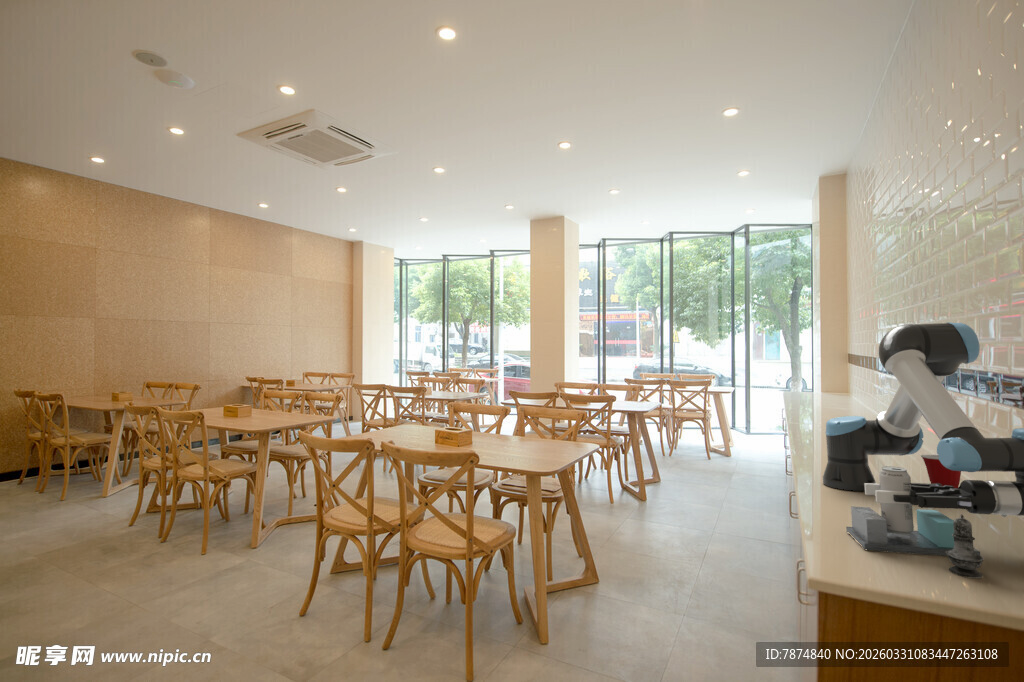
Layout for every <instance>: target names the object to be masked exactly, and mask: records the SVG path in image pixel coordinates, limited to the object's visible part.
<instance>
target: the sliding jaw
mask: <svg viewBox="0 0 1024 682" xmlns="http://www.w3.org/2000/svg"><path fill="white" fill-rule="evenodd" d="M954 520H955V519H952V518H950V517H948V516H947V515H944V513H941V512H940V511H938V510H935V509H934V510H933V509H919V508H918V509H916V521H917V522H916V523H917V531H918V532H919V533H920V534H922V535H923V536H924V537H926V538H927V539H929V540H930V541H932V542H933V543H934V544H936V545H937V546H939V547H946V548H954V537H953V536H952V534H954V525H953V521H954Z"/></svg>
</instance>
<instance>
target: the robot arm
mask: <svg viewBox="0 0 1024 682" xmlns="http://www.w3.org/2000/svg"><path fill="white" fill-rule="evenodd" d="M880 340H881V341H880V343H879V345H878V359H879V361H880V363H881V365H882V367H883V369H884V370H885V372H887V374H889V375H891V376H894V377H895V378H896V380H897V381H898V382H899V386H898V388H897V390H896V392H895V394H894V396H893V398H892V400H891V402H890V403H889V406H888V407H887V409H886V410H882V411H880V412H879V414H878V415H877V417H876V419H873V420H872V419H871V420H870V419H869V420H867V419H866V417H864V416H861V415H860V416H859V415H851V416H850V415H847V416H838V417H832V418H829V419H828V420H827V421H826V424H825V436H826V437H825V439H826V451H827V452H826V453H827V454H826V455H827V463H826V465H825V469H824V471H823V475H822V484H823V485H824V484H825V485H824V486H826V485H827V487H829V488H833V489H837V488H838V490H843V489H844V491H851V490H853V491H855V492H864V494H865V496H875V503H879V504H881V503H898V504H910V503H911V504H912V506H917V507H919V508H924V509H925V508H926V509H927V508H928V509H955V510H956V509H957V510H965V511H967V512H968V513H970V514H975V515H991V514H993V515H1000V516H1001V517H1002V518H1008V516H1023V517H1024V427H1019V428H1014V429H1012V432H1011V437H985V436H984V435H983V434H982V433H981V432H980V431H979V429H978V427H976V425H975V424H974V423H973V422H972V420H971V419H970V418H969V416H968V415H967V414H966V413H965V412H964V411H963V409H962V407H960V405H959V404H958V402H956V400H955V399H954V398H953V396H952V395H951V394H950V393H949V391H948V390H947V389H946V387H945V386H944V385H943V384H942V382H943V381H944V379H945V377H950V376H952V375H954V374H955V373H956V372H957V370H958V369H959V367H960V365H962V364H965V365H968V364H971V363H974V362H975V361H976V360H977V359H978V357H979V355H980V347H981V346H980V342H979V338H978V335H977V333H976V332H975V330H974V329H973V328H972V327H971V326H970V325H968V324H966V323H963V322H950V321H947V322H940V323H937V322H936V323H916V324H915V323H914V324H913V323H911V324H910V323H907V324H901V325H898V326H895V327H893V329H891V330H888V331H887V332H886V333H885V334H884V336H883V337H882V338H881V339H880ZM922 416H923V418H924V419H925V421H926V422H927V423H928V425H929V426H930V428H931V429H932V431H933V432H934V433H935V436H937V438H938V439H939V440H940V441H938V443H937V445H936V446H937V447H936V455H939V460H940V462H941V464H942V465H943V466H945V467H946V468H947V469H949V470H953V471H961V472H968V473H976V472H978V473H979V472H982V473H983V472H1004V473H1005V472H1008V473H1011V472H1013V473H1014V476H1015V480H1014V481H1011V480H1010V481H1009V480H994V479H993V480H990V479H988V480H987V479H986V480H985V481H984V480H979V479H978V480H977V479H964V480H962V481H961V482H960V483H959V486H958V488H954V486H949V485H944V486H942V484H940V483H935V484H931V483H924V482H923V483H921V482H911V490H910V495H909V492H908V491H882V490H880V483H877V481H876V478H875V477H874V474H873V473H872V469H871V467H870V465H869V456H906V455H913V454H916V453H918V452H919V451H920V449H921V448H922V446H923V445H924V444H923V443H924V440H923V438H924V432H923V429H922V427H921V425H920V423H919V421H920V420H921V418H922ZM853 491H852V492H853Z"/></svg>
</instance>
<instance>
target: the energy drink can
mask: <svg viewBox="0 0 1024 682" xmlns="http://www.w3.org/2000/svg"><path fill="white" fill-rule="evenodd" d="M878 476H879V477H878V478H879V481H878V482H879V484H880V490H882V491H908V492H909V495H910V490H911V483H912V481H911V476H910V474H909V472H908V471H907V468H904V467H899V466H892V465H891V466H882V467H881V470H880V472H879V474H878ZM913 510H914V509H913V505H912V504H911V503H910V504H898V503H880V514H881V515H880V516H882V517H883V518H884V519H886V524H887V532H890V533H893V534H898V535H909V534H911V531H915V530H914V527H915V526H914V514H913V513H914V512H913Z"/></svg>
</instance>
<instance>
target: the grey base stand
mask: <svg viewBox="0 0 1024 682" xmlns="http://www.w3.org/2000/svg"><path fill="white" fill-rule="evenodd" d="M850 514H851V526H846V527H845V528H846V533H847V532H849V533H850V534H851V535H852V536H853V537H854V538H855V539H856V540H857V541H858V542H859V543H860V544H861V545H862V547H863V548H864V549H867V550H866V551H868V550H875V551H874V552H883V551H886V552H887V551H888V552H887V553H897V552H900V553H899V554H901V553H902V554H912V553H913V554H915V555H928V556H929V555H930V556H939V557H941V556H942V557H944V556H945V557H948V555H947V554H946V551H948V550H953V548H946V547H939V546H937V545H936V544H934V543H933V542H932V541H930V540H929V539H927V538H926V537H924V536H923V535H922V534H920V533H919V532H918V530H913V531H911V534H909V535H898V534H893V533H890V532H887V524H886V519H884V518H883V517H882V516H881V515H880V514H879V513H878V512H876V510H873V509H872V507H869V506H854V505H853V506H850ZM862 547H861V548H862ZM863 548H862V549H863ZM864 549H863V550H864ZM974 551H975V553H976V554H978V555H980V556H981V551H980V550H978V549H977V548H975V547H974ZM886 552H885V553H886Z"/></svg>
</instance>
